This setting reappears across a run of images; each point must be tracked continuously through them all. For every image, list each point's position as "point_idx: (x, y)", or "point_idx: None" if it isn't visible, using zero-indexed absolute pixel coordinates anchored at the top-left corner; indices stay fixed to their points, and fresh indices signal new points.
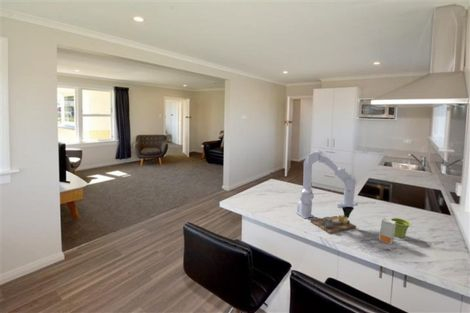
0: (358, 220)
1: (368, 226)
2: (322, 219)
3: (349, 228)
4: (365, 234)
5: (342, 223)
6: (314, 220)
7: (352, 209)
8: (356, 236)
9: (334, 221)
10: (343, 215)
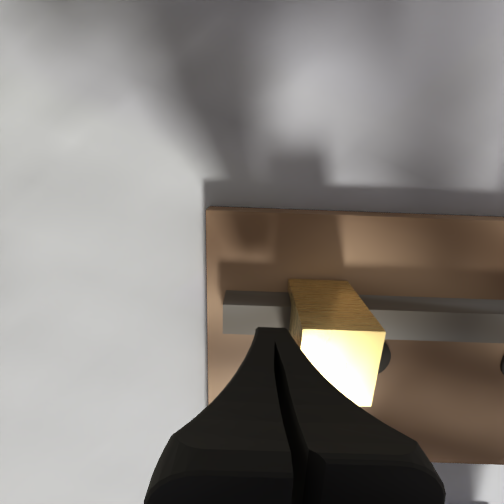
0: (36, 323)
1: (32, 175)
2: None
3: (315, 211)
4: (247, 22)
5: None
6: (499, 455)
7: (218, 432)
8: (405, 31)
9: None
10: None
